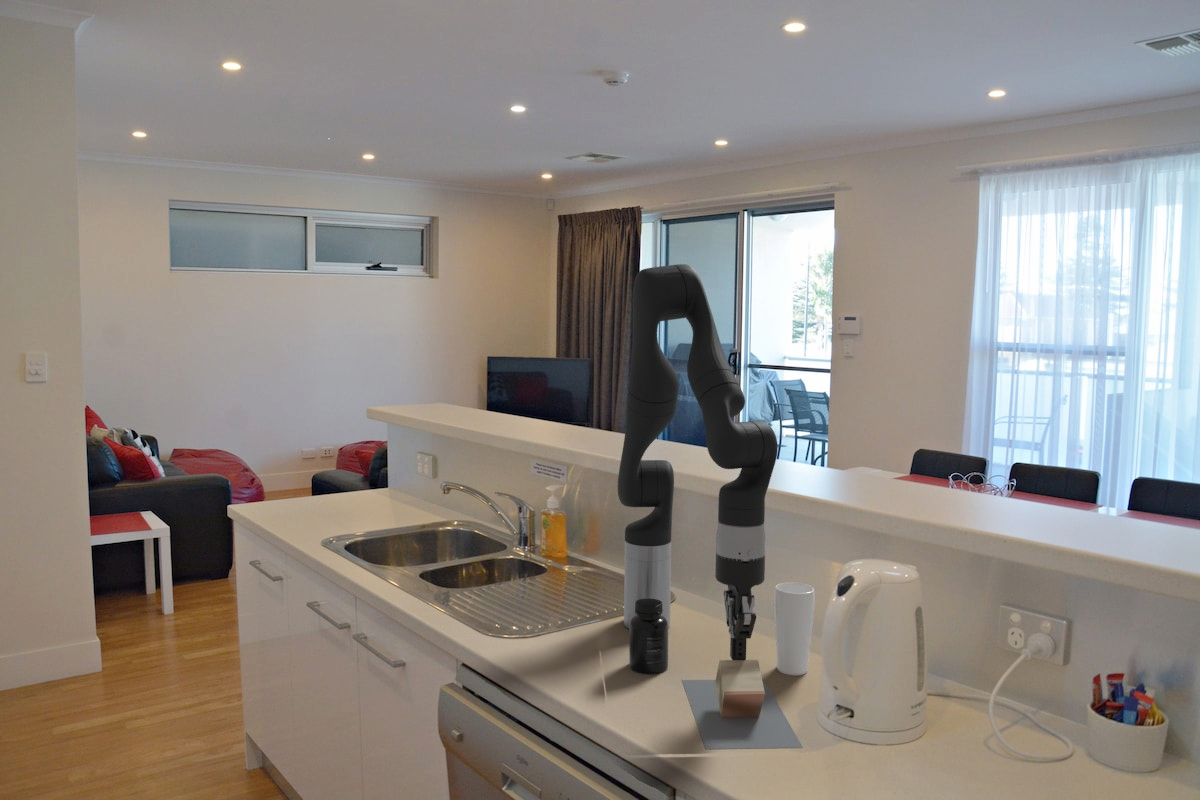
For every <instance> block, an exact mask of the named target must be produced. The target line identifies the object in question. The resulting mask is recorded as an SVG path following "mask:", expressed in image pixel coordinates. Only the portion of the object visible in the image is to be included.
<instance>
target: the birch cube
mask: <svg viewBox="0 0 1200 800" xmlns="http://www.w3.org/2000/svg"><path fill="white" fill-rule="evenodd" d="M718 662H719V663H718V668H717V672H716V677H715V680H716V681H715V685H716V692H717V698H718V704H719V710H720V717H756V716H760V712H761V708H762V704H763V700H764V696H765V691H764V686H763V681H762V679H763V678H762V677H763V676H762V673H761V672H762V671H761V667H760V664H759V663H760V662H759V659H746V660H732V659H723V660H722V659H720V660H719V661H718Z"/></svg>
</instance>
